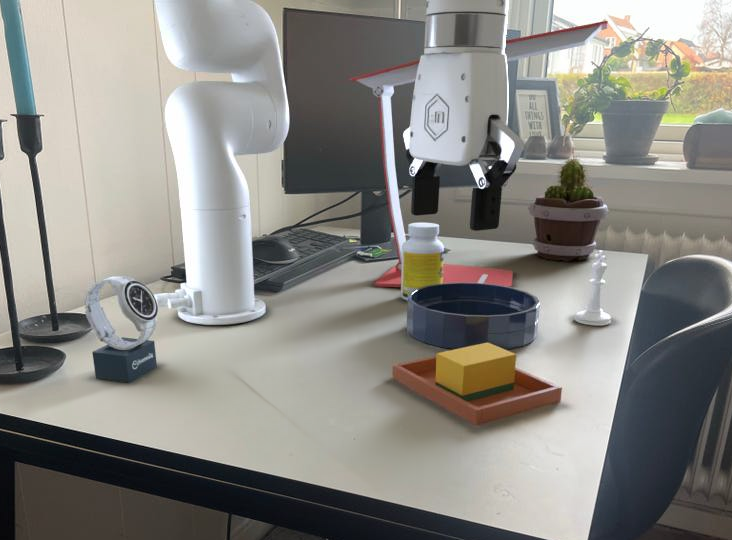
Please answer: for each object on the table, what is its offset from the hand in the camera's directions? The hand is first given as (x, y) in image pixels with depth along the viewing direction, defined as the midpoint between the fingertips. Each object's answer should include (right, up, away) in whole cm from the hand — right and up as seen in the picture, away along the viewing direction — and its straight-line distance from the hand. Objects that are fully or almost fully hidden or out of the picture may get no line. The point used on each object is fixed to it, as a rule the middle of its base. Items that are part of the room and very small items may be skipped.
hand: (452, 221), depth 73 cm
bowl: (+6, -11, +22) cm, 25 cm away
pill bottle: (+1, -5, +39) cm, 39 cm away
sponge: (+3, -17, +3) cm, 18 cm away
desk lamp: (+9, -1, +50) cm, 51 cm away
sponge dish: (+3, -18, +3) cm, 18 cm away
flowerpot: (+32, +6, +70) cm, 77 cm away
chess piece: (+24, -9, +28) cm, 38 cm away
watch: (-36, -16, +9) cm, 40 cm away
